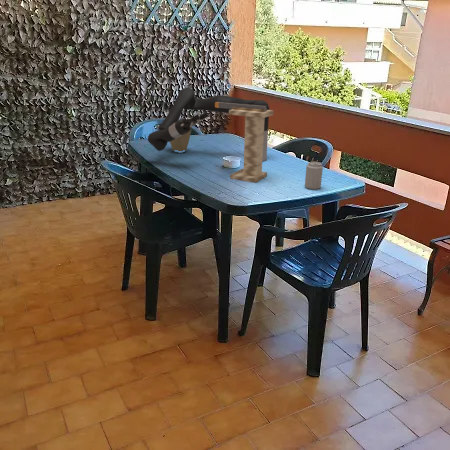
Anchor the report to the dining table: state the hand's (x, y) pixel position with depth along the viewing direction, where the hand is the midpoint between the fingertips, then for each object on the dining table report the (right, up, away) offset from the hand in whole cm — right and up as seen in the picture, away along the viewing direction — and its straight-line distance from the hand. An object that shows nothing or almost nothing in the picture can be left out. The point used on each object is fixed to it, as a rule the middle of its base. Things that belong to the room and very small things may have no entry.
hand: (202, 115), depth 229 cm
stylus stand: (+23, -31, 0) cm, 39 cm away
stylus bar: (+18, 0, -10) cm, 21 cm away
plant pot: (-17, -11, +50) cm, 54 cm away
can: (+52, -38, -15) cm, 66 cm away
